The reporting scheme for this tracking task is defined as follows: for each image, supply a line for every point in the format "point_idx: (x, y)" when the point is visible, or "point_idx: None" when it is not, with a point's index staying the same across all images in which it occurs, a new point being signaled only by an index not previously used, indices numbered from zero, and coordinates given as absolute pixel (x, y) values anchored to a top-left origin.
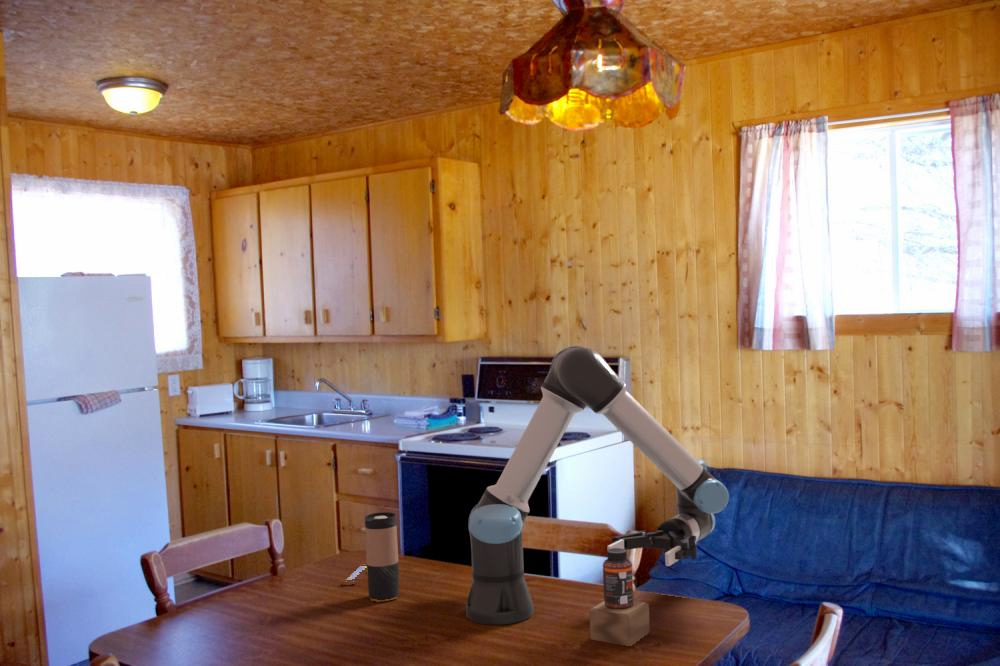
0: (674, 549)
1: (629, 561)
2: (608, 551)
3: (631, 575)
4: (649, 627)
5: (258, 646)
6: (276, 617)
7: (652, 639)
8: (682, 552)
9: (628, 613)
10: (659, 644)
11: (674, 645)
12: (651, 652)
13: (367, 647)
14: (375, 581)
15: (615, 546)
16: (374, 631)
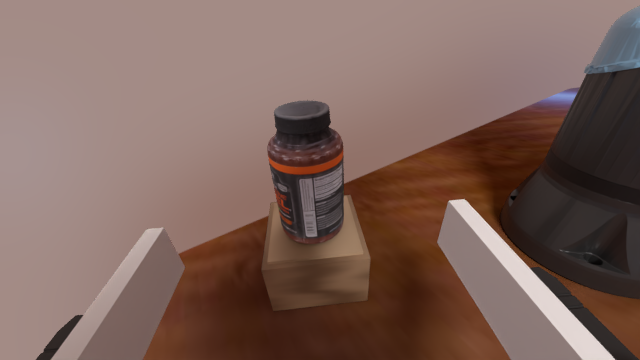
0: (96, 302)
1: (272, 144)
2: (315, 101)
3: (271, 172)
4: (271, 303)
5: (557, 109)
6: None
7: (256, 283)
8: (40, 357)
9: (274, 204)
10: (237, 270)
11: (209, 280)
12: (241, 240)
13: (505, 132)
14: None
15: (477, 249)
16: None
